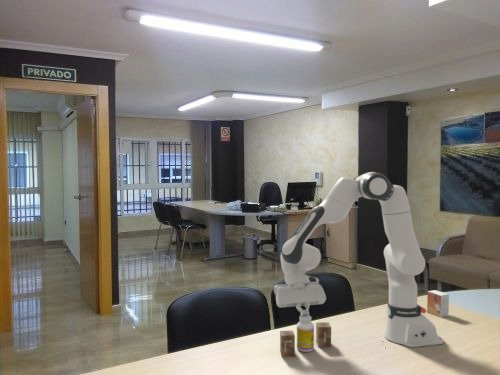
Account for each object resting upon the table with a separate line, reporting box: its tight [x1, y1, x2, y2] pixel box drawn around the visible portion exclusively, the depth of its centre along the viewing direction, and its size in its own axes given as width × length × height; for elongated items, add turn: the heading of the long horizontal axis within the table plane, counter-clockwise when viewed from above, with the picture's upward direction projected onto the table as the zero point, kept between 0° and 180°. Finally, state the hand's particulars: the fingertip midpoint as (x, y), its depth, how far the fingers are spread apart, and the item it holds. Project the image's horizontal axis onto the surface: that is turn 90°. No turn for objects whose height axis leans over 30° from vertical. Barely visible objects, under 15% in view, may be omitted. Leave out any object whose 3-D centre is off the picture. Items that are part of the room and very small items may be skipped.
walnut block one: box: [315, 321, 332, 348], centre depth 163 cm, size 5×5×8 cm
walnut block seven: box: [279, 330, 296, 358], centre depth 155 cm, size 5×5×8 cm
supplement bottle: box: [296, 314, 315, 353], centre depth 159 cm, size 7×7×13 cm
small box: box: [426, 289, 450, 318], centre depth 196 cm, size 8×6×10 cm
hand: (305, 315), depth 159 cm, fingers closed, pressing on supplement bottle
